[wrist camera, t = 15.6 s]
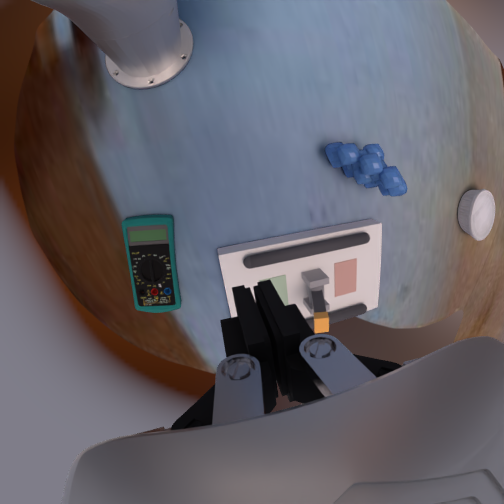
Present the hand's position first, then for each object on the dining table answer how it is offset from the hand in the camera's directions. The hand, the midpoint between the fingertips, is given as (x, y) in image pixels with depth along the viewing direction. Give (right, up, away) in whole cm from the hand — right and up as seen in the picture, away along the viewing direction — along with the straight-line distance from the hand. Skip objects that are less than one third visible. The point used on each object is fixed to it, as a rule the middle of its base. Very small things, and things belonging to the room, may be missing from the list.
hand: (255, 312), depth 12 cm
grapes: (+15, +17, +29) cm, 36 cm away
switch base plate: (+9, -2, +34) cm, 35 cm away
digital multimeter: (-15, +1, +29) cm, 33 cm away
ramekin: (+49, +12, +37) cm, 62 cm away
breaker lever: (+10, -3, +30) cm, 32 cm away
